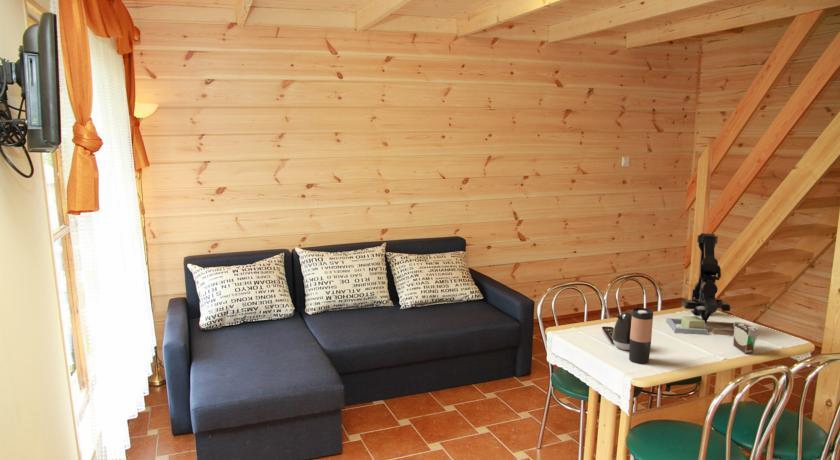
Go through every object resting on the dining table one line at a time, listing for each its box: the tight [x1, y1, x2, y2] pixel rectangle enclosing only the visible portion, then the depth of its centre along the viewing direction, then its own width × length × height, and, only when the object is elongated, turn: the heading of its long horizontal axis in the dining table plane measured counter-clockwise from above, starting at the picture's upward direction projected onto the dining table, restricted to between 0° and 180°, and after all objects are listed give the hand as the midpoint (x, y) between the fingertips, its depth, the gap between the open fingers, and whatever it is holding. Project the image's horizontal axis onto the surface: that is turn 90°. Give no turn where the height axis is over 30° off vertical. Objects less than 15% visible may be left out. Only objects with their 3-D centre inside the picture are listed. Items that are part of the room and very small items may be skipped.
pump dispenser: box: [611, 311, 632, 351], centre depth 238 cm, size 10×10×15 cm
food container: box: [732, 321, 759, 355], centre depth 238 cm, size 12×6×10 cm, turn 179°
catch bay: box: [665, 317, 709, 336], centre depth 265 cm, size 15×14×2 cm
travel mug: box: [628, 307, 654, 365], centre depth 225 cm, size 8×8×20 cm
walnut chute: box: [705, 320, 734, 336], centre depth 262 cm, size 12×16×2 cm
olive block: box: [680, 315, 706, 329], centre depth 263 cm, size 7×7×5 cm
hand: (704, 323), depth 263 cm, fingers closed
